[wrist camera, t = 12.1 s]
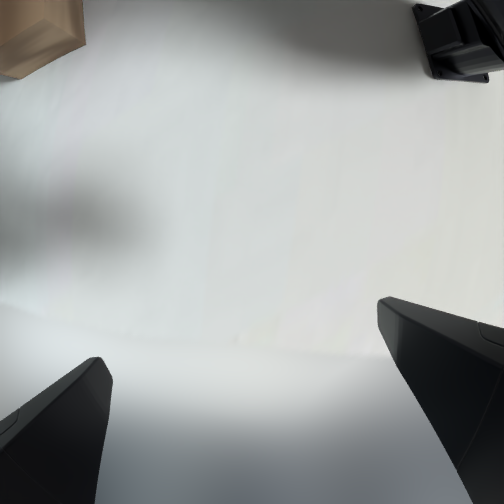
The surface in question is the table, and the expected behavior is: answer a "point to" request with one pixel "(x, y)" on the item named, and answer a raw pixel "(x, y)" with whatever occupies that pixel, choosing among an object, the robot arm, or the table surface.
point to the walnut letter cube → (38, 33)
